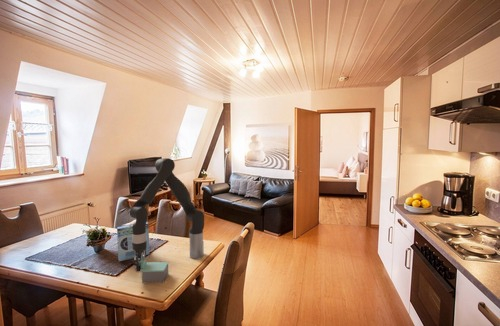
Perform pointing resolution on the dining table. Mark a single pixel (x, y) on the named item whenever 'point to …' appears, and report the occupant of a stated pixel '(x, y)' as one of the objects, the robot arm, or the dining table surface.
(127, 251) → the gum box
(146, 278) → the tub
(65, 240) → the dining table surface
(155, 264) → the lid
